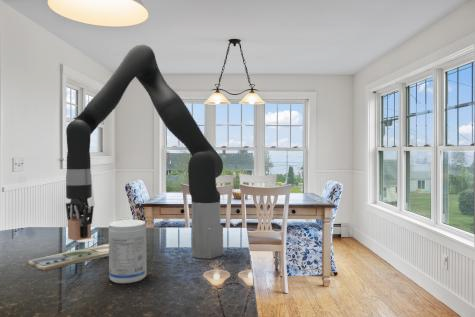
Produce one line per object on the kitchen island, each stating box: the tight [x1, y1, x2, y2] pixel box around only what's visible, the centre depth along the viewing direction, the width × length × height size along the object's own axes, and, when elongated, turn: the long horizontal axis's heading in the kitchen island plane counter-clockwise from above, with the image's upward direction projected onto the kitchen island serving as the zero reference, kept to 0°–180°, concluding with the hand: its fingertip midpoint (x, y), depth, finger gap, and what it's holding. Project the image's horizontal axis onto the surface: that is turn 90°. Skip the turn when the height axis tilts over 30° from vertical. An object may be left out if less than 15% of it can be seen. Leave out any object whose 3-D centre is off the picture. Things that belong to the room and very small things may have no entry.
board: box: [26, 243, 109, 272], centre depth 121 cm, size 12×27×1 cm, turn 139°
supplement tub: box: [108, 219, 147, 284], centre depth 100 cm, size 10×10×15 cm
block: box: [67, 218, 92, 242], centre depth 121 cm, size 5×5×6 cm
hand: (79, 236), depth 121 cm, fingers closed on block, 5 cm apart
